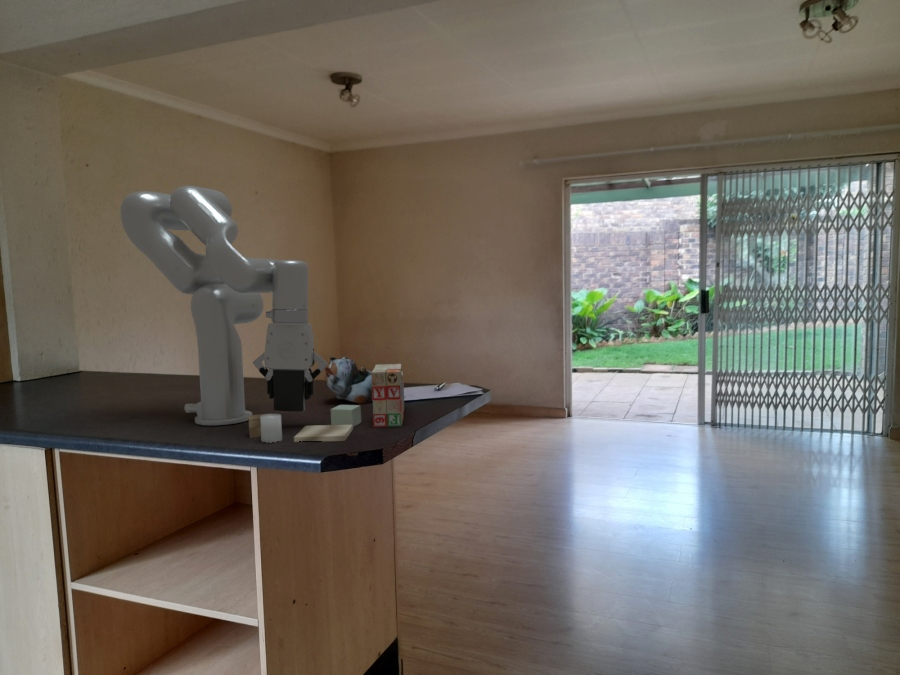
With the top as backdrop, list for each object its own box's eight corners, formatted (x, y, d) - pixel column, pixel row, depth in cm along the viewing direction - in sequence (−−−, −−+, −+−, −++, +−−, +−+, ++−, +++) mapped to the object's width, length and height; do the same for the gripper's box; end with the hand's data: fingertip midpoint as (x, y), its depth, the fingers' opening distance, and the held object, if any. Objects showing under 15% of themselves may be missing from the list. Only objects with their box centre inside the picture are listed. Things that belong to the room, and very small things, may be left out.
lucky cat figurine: (373, 404, 158) (345, 359, 154) (335, 420, 161) (307, 377, 158) (389, 379, 171) (363, 337, 168) (354, 395, 175) (328, 354, 172)
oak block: (249, 438, 126) (248, 419, 125) (249, 434, 129) (248, 415, 129) (270, 436, 127) (269, 417, 127) (269, 432, 131) (268, 413, 130)
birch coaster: (294, 442, 121) (293, 437, 121) (306, 430, 131) (305, 425, 131) (344, 440, 121) (344, 435, 121) (352, 429, 131) (352, 424, 131)
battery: (308, 408, 137) (308, 358, 136) (303, 412, 134) (304, 360, 132) (277, 407, 137) (277, 357, 136) (272, 411, 134) (271, 359, 132)
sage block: (331, 427, 134) (330, 409, 134) (340, 422, 139) (339, 404, 139) (352, 428, 133) (351, 409, 133) (361, 422, 138) (360, 405, 138)
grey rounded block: (258, 443, 121) (257, 418, 121) (264, 438, 125) (263, 413, 125) (279, 442, 121) (277, 417, 121) (284, 437, 125) (283, 413, 125)
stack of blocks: (379, 408, 154) (378, 359, 153) (404, 407, 154) (403, 358, 153) (372, 427, 133) (371, 371, 132) (402, 426, 133) (400, 370, 132)
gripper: (244, 317, 130) (245, 400, 131) (327, 319, 130) (326, 402, 131) (255, 315, 137) (256, 393, 139) (333, 317, 137) (333, 395, 139)
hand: (290, 397), depth 135 cm, fingers closed on battery, 7 cm apart
